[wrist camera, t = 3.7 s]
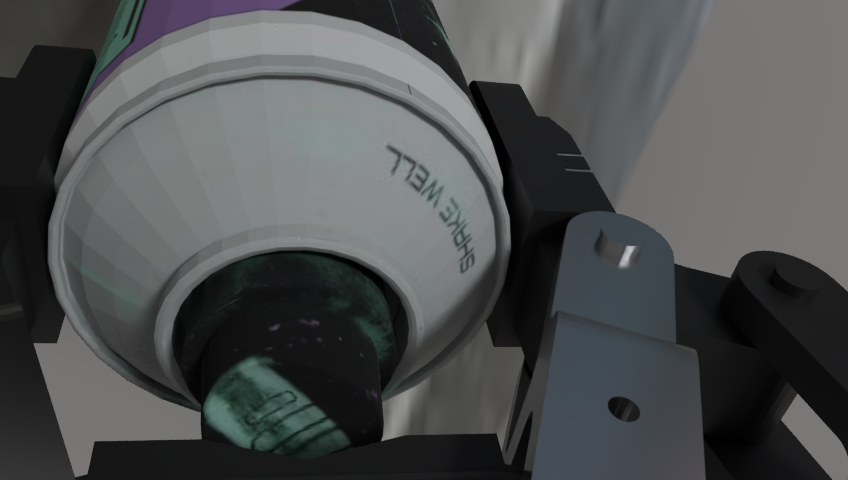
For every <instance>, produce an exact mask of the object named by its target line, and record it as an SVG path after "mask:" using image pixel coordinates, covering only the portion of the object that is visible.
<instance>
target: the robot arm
mask: <svg viewBox="0 0 848 480" xmlns="http://www.w3.org/2000/svg"><path fill="white" fill-rule="evenodd" d="M96 62H97V61H96V56H95V53H94V51H93V50H92V49H82V48H69V47H57V46H44V45H35V46H34V47H33V48H32V50H31V52H30V54H29V56H28V57H27V59H26V61H25V63H24V65H23V66H22V68H21V70H20V72H19V74H18V75H17V77H16V78H6V77H0V480H832V479H831V478H830V476H829V475H828V474H827V473H826V472H825V471H824V469H822V467H821V466H820V465H819V464H818V463H817V461H816V460H815V459H814V458H813V457H812V456H811V454H810V453H809V452H808V451H807V450H806V449H805V447H804V446H803V445H802V444H801V443H800V442H799V440H798V439H797V438H796V437H795V436H794V435H793V434H792V432H791V431H790V430H789V429H788V428H787V426H786V425H785V424H784V423H783V422H782V421H781V419H782V417H783V415H784V414H785V412H786V411H787V409H788V408H789V406H790V404H791V403H792V401H793V400H794V398H795V397H796V395H797V394H799V395H800V396H801V397H802V399H804V401H805V402H806V403H807V404H808V405H809V406H810V407H811V408H812V409H813V411H814V412H815V413H816V414H817V415H818V416H819V417H820V418H821V419H822V421H823V422H824V423H825V424H826V425H827V426H828V427H829V428H830V429H831V430H832V432H833V433H834V434H835V435H836V436H837V437H838V438H839V440H840V441H841V442H842V444H843V446H844V448H845V450H846V452H847V455H848V292H847V291H846V290H845V289H844V288H843V287H842V286H841V285H840V284H838V283H837V282H836V281H835V280H834V279H833V278H831V277H830V276H829V275H828V274H827V273H825V272H824V271H822V270H821V269H819V268H818V267H816V266H814V265H812V264H810V263H808V262H806V261H804V260H802V259H799V258H796V257H794V256H791V255H787V254H784V253H779V252H774V251H755V252H751V253H748V254H746V255H744V256H743V257H742V258H741V259H740V260H739V262H738V264H737V266H736V268H735V270H734V272H733V274H732V276H731V278H728V277H724V276H720V275H716V274H712V273H707V272H703V271H699V270H696V269H691V268H687V267H684V266H681V265H677V264H675V263H674V255H673V251H672V249H671V247H670V245H669V243H668V242H667V241H666V240H665V239H664V237H663V236H662V235H661V234H659V233H658V232H657V231H656V230H654V229H653V228H651V227H649V226H648V225H647V224H645V223H643V222H641V221H639V220H636V219H634V218H631V217H629V216H625V215H622V214H618V213H616V212H615V210H614V208H613V207H612V205H611V203H610V202H609V200H608V198H607V196H606V195H605V193H604V191H603V190H602V188H601V186H600V184H599V183H598V181H597V179H596V178H595V176H594V174H593V173H591V172H590V167H589V166H588V164H587V162H586V160H585V159H584V157H581V152H580V150H579V149H578V147H577V145H576V143H575V142H574V140H573V138H572V137H571V135H570V134H569V133H568V132H567V131H565V130H564V129H563V128H561V127H560V126H559V125H558V124H556V123H555V122H554V121H553V120H551V119H550V118H549V117H541V116H536V114H535V112H534V110H533V108H532V106H531V104H530V103H529V101H528V99H527V97H526V95H525V93H524V91H523V90H522V88H521V86H520V85H519V84H509V83H496V82H484V81H472V82H471V83H470V84H469V86H468V87H469V89H470V92H471V94H472V96H473V99H474V101H475V103H476V106H477V108H478V110H479V113H480V115H481V117H482V120H483V122H484V124H485V127H486V129H487V131H488V134H489V136H490V139H491V141H492V144H493V147H494V150H495V154H496V157H497V160H498V164H499V167H500V170H501V174H502V177H503V192H504V201H505V204H506V207H507V211H508V214H509V218H510V239H511V254H510V259H509V264H508V269H507V274H506V279H505V284H504V286H503V288H502V290H501V293H500V295H499V297H498V299H497V302H496V304H495V306H494V308H493V311H492V313H491V314H490V316H489V317H488V319H487V320H486V323H487V326H488V329H489V332H490V336H491V339H492V342H493V345H494V347H522V350H523V353H524V359H523V362H522V365H521V368H520V371H519V374H518V377H517V382H516V386H515V391H514V396H513V401H512V405H511V410H510V415H509V420H508V425H507V429H506V434H505V439H504V444H503V448H502V452H501V448H500V445H499V441H498V437H497V434H451V435H405V436H401V437H397V438H393V439H389V440H385V441H381V442H377V443H373V444H369V445H365V446H361V447H357V448H353V449H349V450H345V451H340V452H336V453H332V454H328V455H324V456H320V457H315V458H296V457H291V456H286V455H280V454H275V453H270V452H265V451H260V450H254V449H249V448H244V447H239V446H233V445H228V444H223V443H218V442H213V441H207V440H202V439H200V440H148V441H97V442H94V447H93V452H92V457H91V461H90V466H89V471H88V474H87V475H83V476H79V477H75V476H74V473H73V470H72V466H71V463H70V460H69V457H68V454H67V450H66V447H65V444H64V441H63V437H62V434H61V431H60V428H59V425H58V421H57V418H56V415H55V412H54V409H53V405H52V402H51V399H50V396H49V392H48V389H47V386H46V383H45V379H44V376H43V373H42V370H41V367H40V363H39V360H38V357H37V354H36V350H35V347H34V344H33V343H57V341H58V337H59V334H60V330H61V327H62V323H63V320H64V317H65V312H64V311H63V309H62V307H61V305H60V303H59V301H58V300H57V298H56V294H55V290H54V286H53V282H52V278H51V274H50V270H49V266H48V224H49V221H50V218H51V214H52V211H53V208H54V205H55V201H56V194H55V180H54V178H55V175H56V171H57V168H58V164H59V161H60V158H61V154H62V151H63V148H64V144H65V141H66V139H67V136H68V134H69V131H70V128H71V126H72V123H73V121H74V118H75V116H76V113H77V111H78V108H79V106H80V103H81V101H82V98H83V95H84V93H85V90H86V88H87V85H88V83H89V80H90V78H91V75H92V73H93V70H94V68H95V65H96Z"/></svg>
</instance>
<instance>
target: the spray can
mask: <svg viewBox="0 0 848 480" xmlns="http://www.w3.org/2000/svg"><path fill="white" fill-rule="evenodd" d="M54 180H55V194H56V201H55V205H54V208H53V211H52V214H51V218H50V221H49V224H48V266H49V270H50V274H51V278H52V282H53V286H54V290H55V294H56V298H57V300H58V301H59V303H60V305H61V307H62V309H63V311H64V312H65V314H66V316H67V318H68V320H69V322H70V323H71V325H72V327H73V329H74V331H75V332H76V333H77V334H78V335H79V336H80V337H81V339H82V340H83V341H84V342H85V343H86V344H87V345H88V347H89V348H90V349H91V350H92V351H93V352H94V353H95V355H96V356H97V357H98V358H99V359H101V360H102V361H103V362H105V363H106V364H107V365H108V366H109V367H111V368H112V369H113V370H115V371H116V372H117V373H118V374H120V375H121V376H122V377H124V378H125V379H126V380H127V381H129V382H131V383H133V384H135V385H137V386H139V387H140V388H142V389H144V390H146V391H148V392H150V393H152V394H153V395H155V396H157V397H159V398H161V399H163V400H166V401H169V402H172V403H175V404H178V405H180V406H184V407H186V408H189V409H192V410H195V411H197V412H201V434H202V440H207V441H213V442H218V443H223V444H228V445H233V446H239V447H244V448H249V449H254V450H260V451H265V452H270V453H275V454H280V455H286V456H291V457H296V458H315V457H320V456H324V455H328V454H332V453H336V452H340V451H345V450H349V449H353V448H357V447H361V446H365V445H369V444H373V443H377V442H381V439H382V437H383V427H384V421H383V409H382V402H383V401H386V400H388V399H390V398H392V397H394V396H396V395H398V394H400V393H402V392H404V391H406V390H408V389H410V388H412V387H414V386H416V385H418V384H419V383H421V382H422V381H424V380H425V379H427V378H428V377H430V376H431V375H433V374H434V373H435V372H437V371H438V370H440V369H441V368H443V367H444V366H446V365H447V364H448V363H449V362H450V361H451V360H452V359H453V358H454V357H455V356H456V355H457V354H458V353H459V352H460V351H462V350H463V349H464V348H465V347H466V346H467V345H468V344H469V343H470V342H471V341H472V339H473V338H474V337H475V335H476V334H477V333H478V331H479V330H480V328H481V327H482V326H483V324H484V323H485V321H486V320H487V319H488V317H489V316H490V314H491V313H492V311H493V308H494V306H495V304H496V302H497V299H498V297H499V295H500V293H501V290H502V288H503V286H504V284H505V279H506V274H507V269H508V264H509V259H510V254H511V239H510V218H509V214H508V211H507V207H506V204H505V201H504V192H503V177H502V174H501V170H500V167H499V164H498V160H497V157H496V154H495V150H494V147H493V144H492V141H491V139H490V136H489V134H488V131H487V129H486V127H485V124H484V122H483V120H482V117H481V115H480V113H479V110H478V108H477V106H476V103H475V101H474V99H473V96H472V94H471V92H470V89H469V87H468V84H467V82H466V80H465V77H464V75H463V73H462V70H461V68H460V66H459V63H458V61H457V59H456V56H455V54H454V52H453V49H452V47H451V44H450V42H449V40H448V37H447V35H446V33H445V30H444V28H443V26H442V23H441V21H440V19H439V16H438V14H437V12H436V9H435V7H434V5H433V2H432V0H121V1H120V4H119V7H118V9H117V12H116V14H115V17H114V19H113V22H112V24H111V27H110V29H109V32H108V34H107V37H106V40H105V42H104V45H103V47H102V50H101V52H100V55H99V57H98V60H97V62H96V65H95V68H94V70H93V73H92V75H91V78H90V80H89V83H88V85H87V88H86V90H85V93H84V95H83V98H82V101H81V103H80V106H79V108H78V111H77V113H76V116H75V118H74V121H73V123H72V126H71V128H70V131H69V134H68V136H67V139H66V141H65V144H64V148H63V151H62V154H61V158H60V161H59V164H58V168H57V171H56V175H55V178H54Z"/></svg>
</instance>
